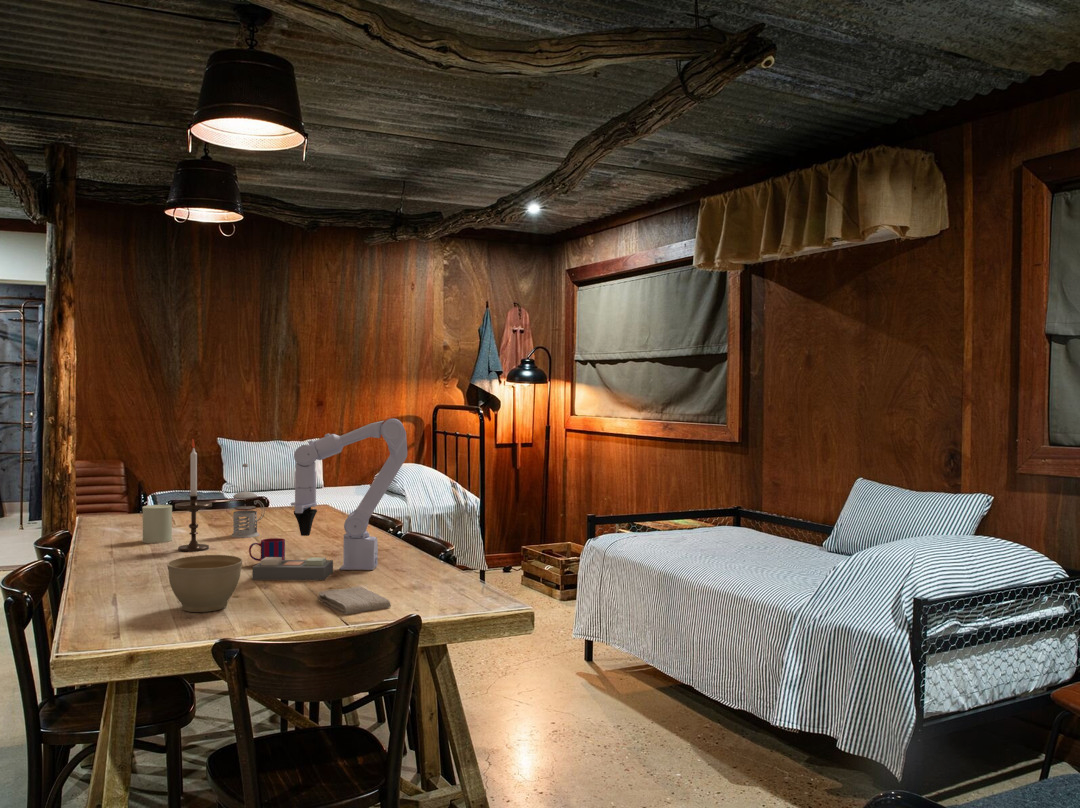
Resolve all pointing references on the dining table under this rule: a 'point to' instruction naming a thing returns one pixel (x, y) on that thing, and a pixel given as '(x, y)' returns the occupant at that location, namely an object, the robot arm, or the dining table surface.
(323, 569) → the key panel
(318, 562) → the sage key
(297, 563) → the terracotta key
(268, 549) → the mug
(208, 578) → the planter bowl
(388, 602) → the washcloth
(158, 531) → the can
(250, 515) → the french press
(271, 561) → the cream key
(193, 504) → the candlestick
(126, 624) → the dining table surface
